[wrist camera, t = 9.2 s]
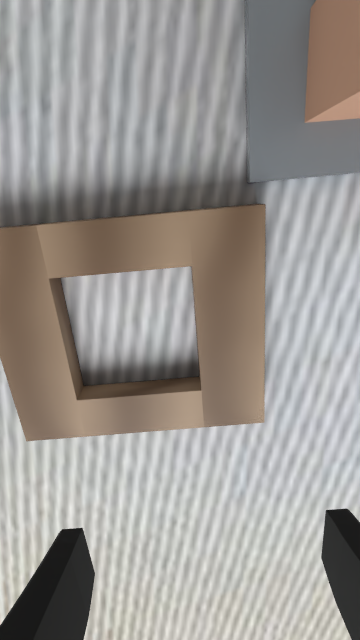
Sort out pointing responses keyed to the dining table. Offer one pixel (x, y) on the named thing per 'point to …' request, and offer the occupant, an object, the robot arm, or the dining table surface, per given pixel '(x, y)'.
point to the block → (333, 61)
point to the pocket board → (124, 256)
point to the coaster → (288, 100)
